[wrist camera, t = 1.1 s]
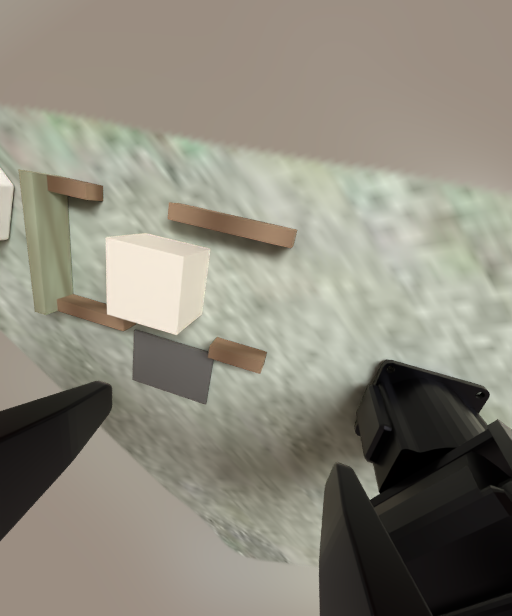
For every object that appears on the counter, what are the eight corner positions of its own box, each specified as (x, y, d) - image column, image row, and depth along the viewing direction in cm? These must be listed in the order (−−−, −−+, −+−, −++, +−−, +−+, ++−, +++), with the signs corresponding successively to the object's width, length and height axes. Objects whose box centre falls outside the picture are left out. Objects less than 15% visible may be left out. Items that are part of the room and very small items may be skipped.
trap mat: (214, 353, 21) (213, 354, 21) (206, 403, 23) (205, 404, 23) (135, 329, 22) (134, 330, 22) (134, 378, 24) (132, 379, 24)
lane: (297, 229, 17) (293, 232, 14) (264, 363, 20) (256, 381, 18) (54, 174, 19) (18, 169, 17) (63, 301, 23) (34, 311, 21)
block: (211, 248, 19) (183, 256, 15) (202, 313, 20) (176, 334, 17) (147, 233, 19) (105, 237, 16) (144, 297, 21) (107, 314, 17)
